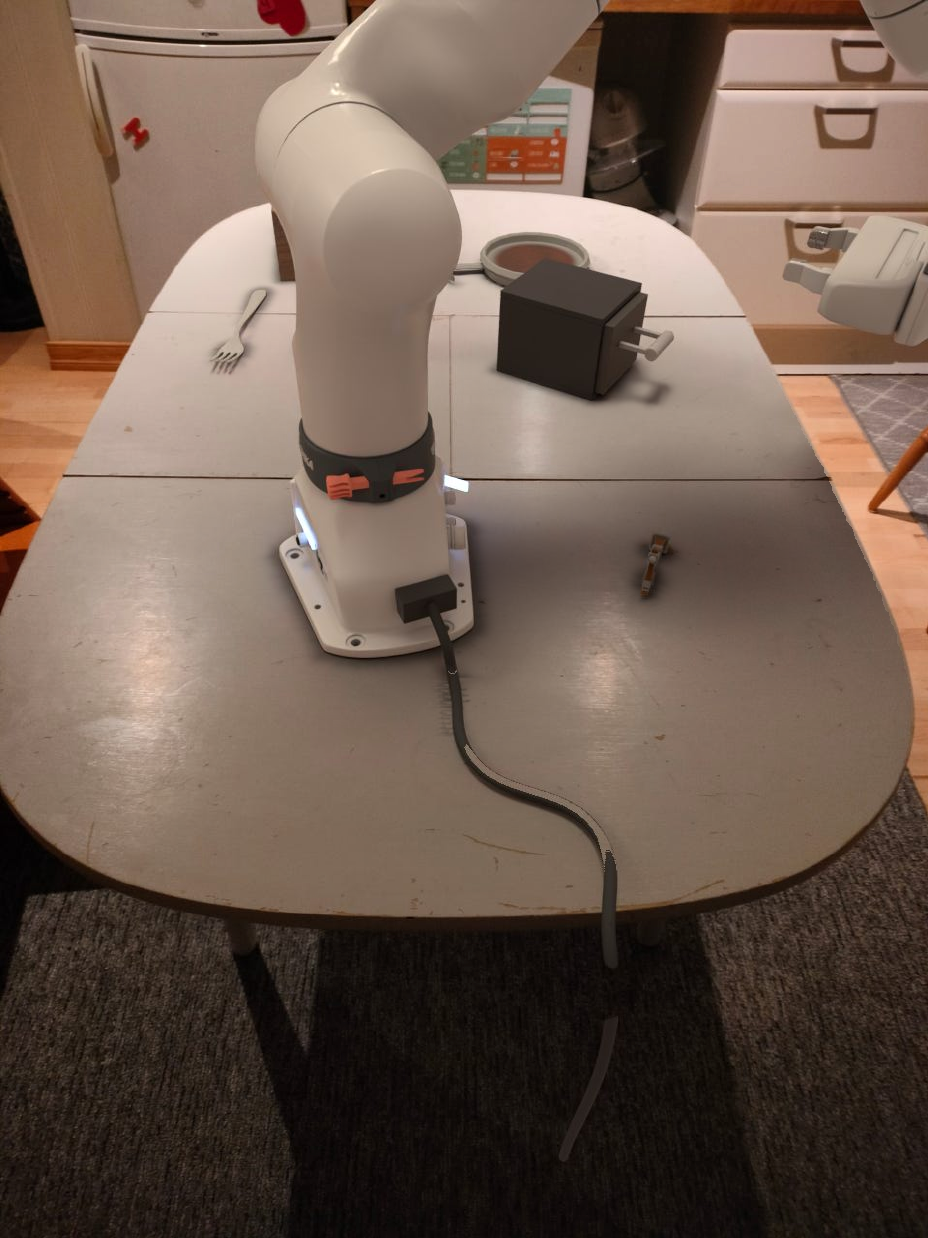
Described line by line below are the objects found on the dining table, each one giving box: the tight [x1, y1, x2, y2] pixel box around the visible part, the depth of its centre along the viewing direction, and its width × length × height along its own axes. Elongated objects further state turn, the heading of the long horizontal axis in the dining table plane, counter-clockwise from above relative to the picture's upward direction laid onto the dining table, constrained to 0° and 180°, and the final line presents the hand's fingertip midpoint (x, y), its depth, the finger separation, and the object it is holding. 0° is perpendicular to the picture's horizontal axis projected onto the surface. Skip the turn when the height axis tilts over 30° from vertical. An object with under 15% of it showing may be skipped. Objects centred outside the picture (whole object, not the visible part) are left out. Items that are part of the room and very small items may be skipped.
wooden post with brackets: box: [640, 531, 672, 596], centre depth 81 cm, size 2×8×4 cm, turn 160°
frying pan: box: [449, 231, 591, 287], centre depth 130 cm, size 17×3×28 cm
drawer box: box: [496, 258, 643, 401], centre depth 107 cm, size 14×12×11 cm
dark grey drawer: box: [595, 291, 675, 395], centre depth 105 cm, size 18×10×9 cm, turn 59°
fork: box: [208, 289, 267, 364], centre depth 115 cm, size 3×24×2 cm, turn 177°
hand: (798, 251), depth 88 cm, fingers open, 8 cm apart
